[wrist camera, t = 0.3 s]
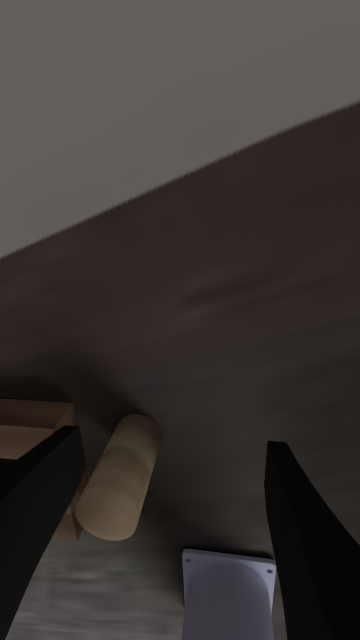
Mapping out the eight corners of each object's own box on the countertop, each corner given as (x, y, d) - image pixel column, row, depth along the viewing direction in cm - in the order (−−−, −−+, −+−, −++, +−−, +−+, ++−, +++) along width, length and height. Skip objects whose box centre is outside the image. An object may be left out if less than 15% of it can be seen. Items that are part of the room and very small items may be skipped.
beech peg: (163, 453, 24) (139, 544, 18) (119, 450, 25) (80, 536, 18) (160, 415, 23) (133, 497, 16) (114, 412, 24) (70, 491, 17)
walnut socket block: (92, 507, 28) (77, 541, 25) (-18, 495, 29) (-44, 525, 26) (73, 402, 24) (52, 428, 21) (-52, 395, 25) (-87, 419, 23)
